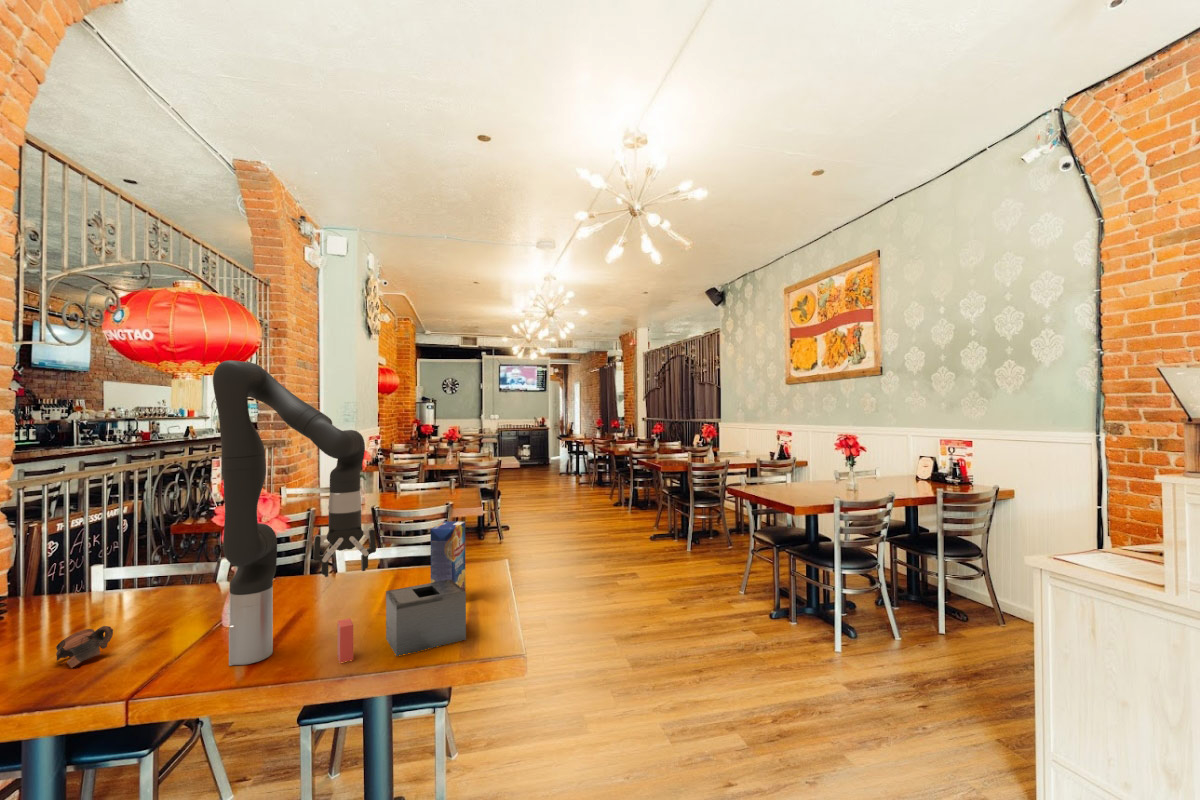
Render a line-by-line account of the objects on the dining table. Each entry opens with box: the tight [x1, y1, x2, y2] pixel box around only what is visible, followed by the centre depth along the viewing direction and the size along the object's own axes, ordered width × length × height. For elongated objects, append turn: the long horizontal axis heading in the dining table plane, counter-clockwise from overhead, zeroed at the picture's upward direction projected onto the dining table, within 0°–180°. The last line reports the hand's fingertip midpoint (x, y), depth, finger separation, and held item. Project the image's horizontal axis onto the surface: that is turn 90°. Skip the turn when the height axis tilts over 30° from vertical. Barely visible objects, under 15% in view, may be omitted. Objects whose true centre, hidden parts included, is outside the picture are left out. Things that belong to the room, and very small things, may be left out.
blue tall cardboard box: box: [430, 520, 467, 593], centre depth 179 cm, size 12×8×24 cm, turn 175°
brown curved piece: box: [55, 625, 114, 669], centre depth 136 cm, size 12×9×8 cm
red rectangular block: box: [337, 617, 354, 664], centre depth 135 cm, size 3×5×9 cm, turn 33°
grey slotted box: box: [385, 580, 467, 657], centre depth 146 cm, size 18×13×13 cm
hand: (345, 573), depth 135 cm, fingers open, 8 cm apart
